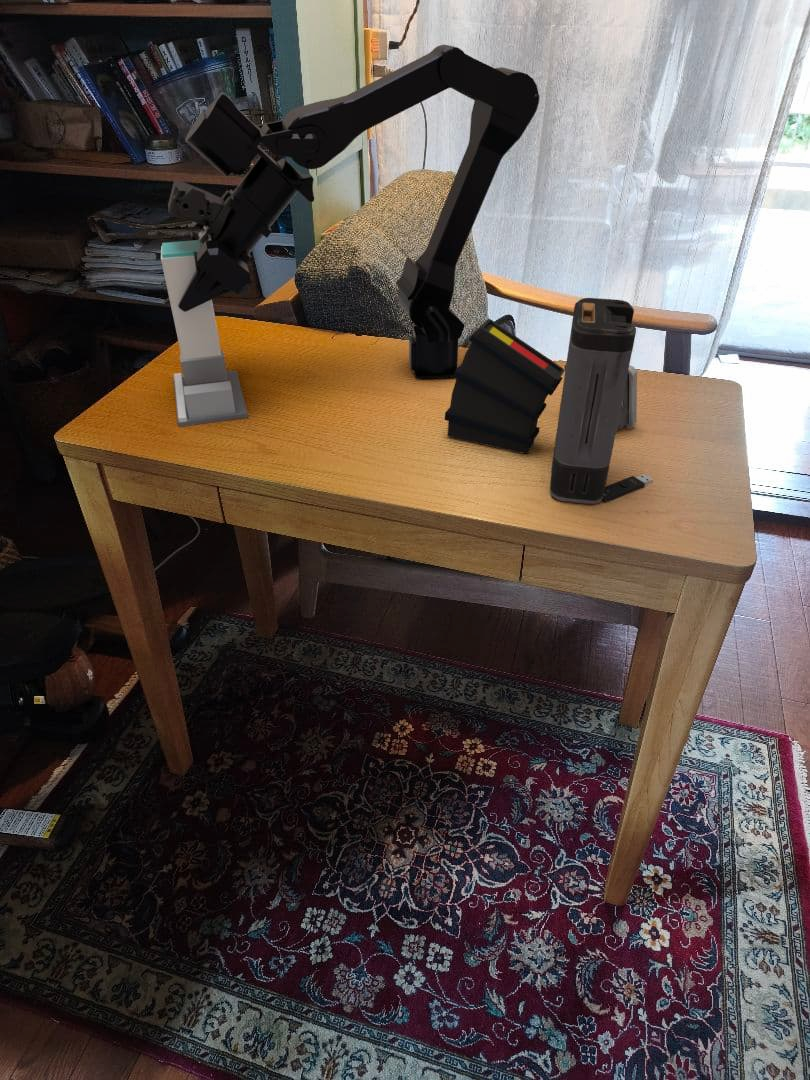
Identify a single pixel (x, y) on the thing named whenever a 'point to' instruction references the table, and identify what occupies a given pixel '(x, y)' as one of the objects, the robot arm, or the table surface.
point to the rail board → (207, 392)
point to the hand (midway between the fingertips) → (180, 301)
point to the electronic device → (591, 398)
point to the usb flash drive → (625, 487)
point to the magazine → (500, 390)
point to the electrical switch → (628, 401)
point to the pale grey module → (198, 322)
